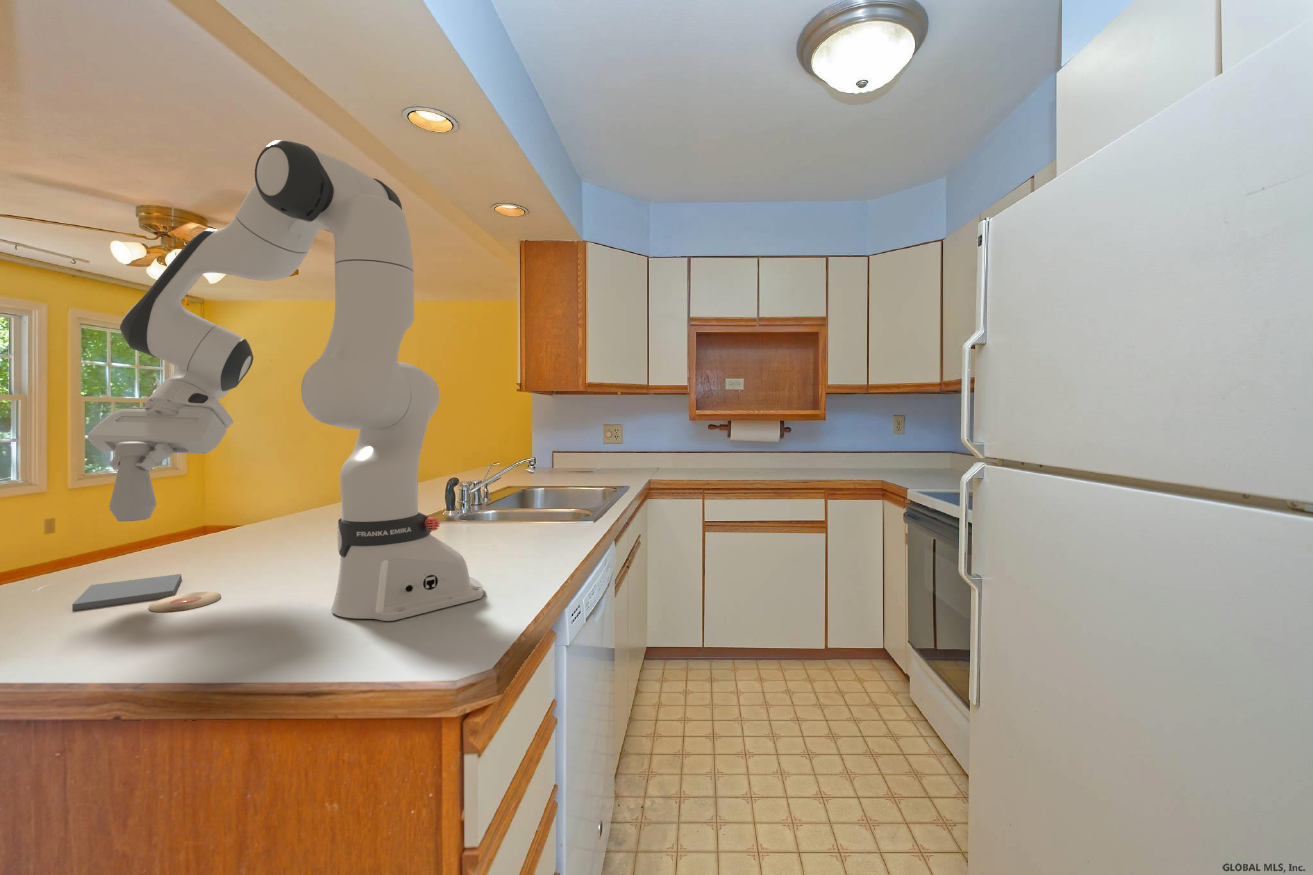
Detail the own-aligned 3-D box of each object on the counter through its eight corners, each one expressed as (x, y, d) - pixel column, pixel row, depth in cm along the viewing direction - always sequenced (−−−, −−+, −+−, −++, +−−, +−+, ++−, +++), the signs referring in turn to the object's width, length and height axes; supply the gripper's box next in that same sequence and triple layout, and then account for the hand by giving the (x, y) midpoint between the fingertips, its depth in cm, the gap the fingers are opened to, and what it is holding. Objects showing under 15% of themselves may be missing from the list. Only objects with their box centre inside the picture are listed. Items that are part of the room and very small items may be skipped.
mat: (181, 579, 105) (181, 573, 105) (173, 596, 96) (173, 590, 96) (91, 590, 99) (91, 585, 99) (72, 610, 89) (72, 604, 89)
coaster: (222, 590, 99) (222, 588, 99) (219, 604, 91) (219, 602, 91) (153, 600, 94) (153, 598, 94) (144, 616, 86) (144, 614, 86)
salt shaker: (162, 518, 97) (162, 442, 97) (119, 523, 92) (118, 442, 92) (146, 515, 100) (145, 440, 99) (102, 520, 95) (102, 441, 94)
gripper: (110, 394, 102) (53, 454, 93) (223, 397, 102) (177, 457, 92) (134, 419, 107) (82, 478, 98) (242, 422, 106) (200, 481, 97)
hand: (129, 468), depth 95 cm, fingers closed on salt shaker, 3 cm apart
